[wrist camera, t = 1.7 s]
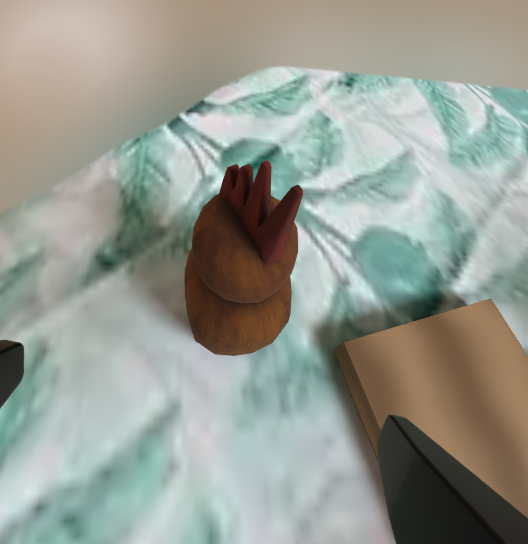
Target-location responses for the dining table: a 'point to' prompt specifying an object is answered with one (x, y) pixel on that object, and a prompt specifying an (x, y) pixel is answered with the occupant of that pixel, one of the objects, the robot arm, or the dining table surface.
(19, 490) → the dining table surface
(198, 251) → the wooden figurine
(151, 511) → the dining table surface
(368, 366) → the light brown wooden stand
